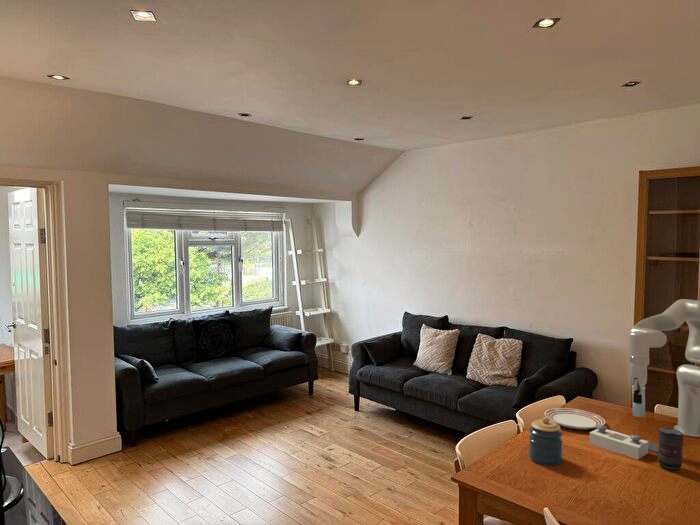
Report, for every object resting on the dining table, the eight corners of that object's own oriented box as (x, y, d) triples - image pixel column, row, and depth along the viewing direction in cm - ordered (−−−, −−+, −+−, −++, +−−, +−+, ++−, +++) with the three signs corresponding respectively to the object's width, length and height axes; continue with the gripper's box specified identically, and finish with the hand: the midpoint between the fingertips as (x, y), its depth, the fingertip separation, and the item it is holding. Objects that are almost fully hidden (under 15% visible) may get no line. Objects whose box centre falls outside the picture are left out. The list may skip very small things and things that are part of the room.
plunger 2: (632, 447, 207) (632, 433, 207) (642, 450, 204) (642, 436, 204) (628, 450, 205) (628, 436, 205) (638, 453, 202) (638, 439, 202)
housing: (589, 443, 215) (589, 432, 215) (600, 437, 221) (600, 427, 221) (637, 459, 199) (638, 447, 199) (648, 452, 205) (648, 441, 205)
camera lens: (686, 473, 187) (687, 435, 186) (663, 472, 189) (663, 434, 188) (676, 464, 195) (677, 427, 194) (654, 462, 197) (655, 426, 196)
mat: (643, 440, 217) (643, 439, 217) (665, 447, 210) (665, 446, 210) (634, 446, 212) (634, 444, 212) (657, 453, 205) (657, 451, 205)
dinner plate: (559, 409, 260) (559, 403, 259) (614, 423, 239) (614, 416, 239) (534, 422, 241) (534, 416, 241) (591, 438, 221) (591, 431, 221)
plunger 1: (599, 437, 219) (599, 424, 218) (608, 440, 215) (608, 426, 215) (595, 439, 216) (595, 426, 216) (604, 442, 213) (604, 429, 213)
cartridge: (634, 412, 214) (633, 383, 213) (646, 414, 210) (646, 385, 210) (630, 415, 210) (630, 386, 210) (644, 418, 207) (643, 388, 206)
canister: (562, 455, 204) (563, 414, 203) (562, 468, 192) (562, 425, 191) (530, 450, 209) (530, 410, 209) (527, 462, 198) (527, 420, 197)
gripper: (634, 354, 218) (634, 394, 219) (623, 362, 205) (624, 405, 206) (653, 357, 213) (653, 397, 214) (644, 365, 200) (644, 408, 201)
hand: (639, 400), depth 210 cm, fingers closed on cartridge, 4 cm apart
